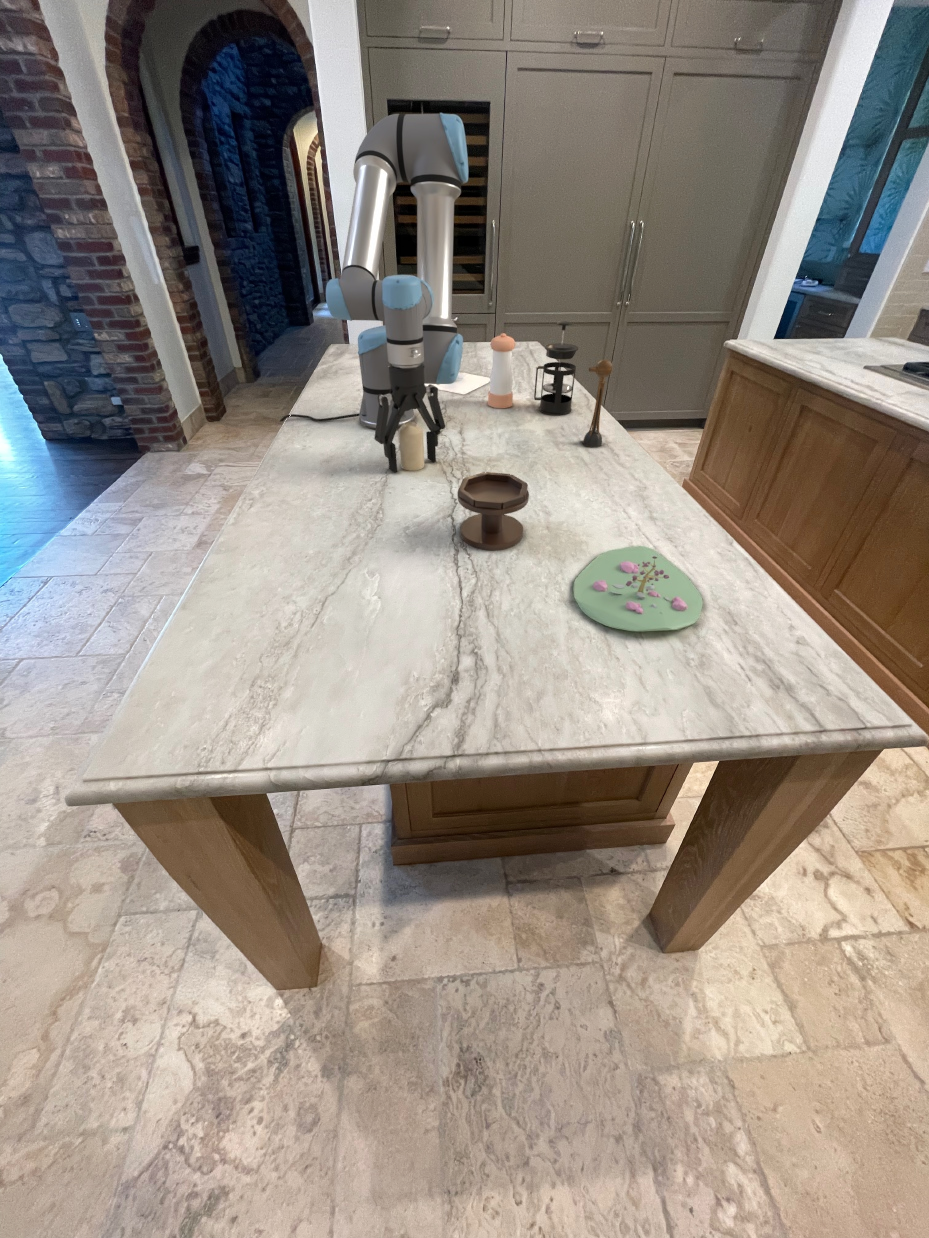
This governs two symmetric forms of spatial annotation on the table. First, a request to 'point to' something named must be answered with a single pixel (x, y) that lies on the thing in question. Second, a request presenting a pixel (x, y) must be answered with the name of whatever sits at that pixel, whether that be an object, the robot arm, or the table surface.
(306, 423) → the table surface
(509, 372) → the salt shaker
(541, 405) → the french press
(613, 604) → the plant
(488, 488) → the candle stand
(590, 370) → the wooden tabletop sculpture
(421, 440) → the candle
